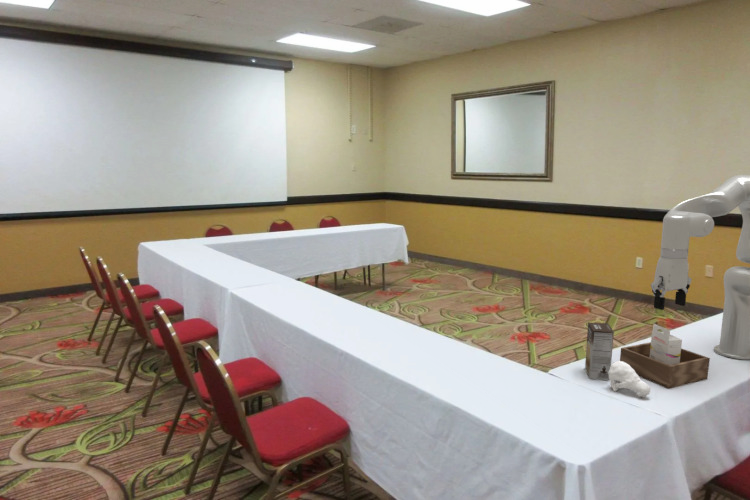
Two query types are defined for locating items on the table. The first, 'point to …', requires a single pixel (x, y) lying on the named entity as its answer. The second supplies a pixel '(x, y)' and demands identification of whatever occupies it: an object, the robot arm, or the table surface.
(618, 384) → the white figurine
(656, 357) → the ink cartridge box
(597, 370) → the coffee box
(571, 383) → the table surface
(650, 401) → the table surface
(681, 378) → the walnut box
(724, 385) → the table surface
